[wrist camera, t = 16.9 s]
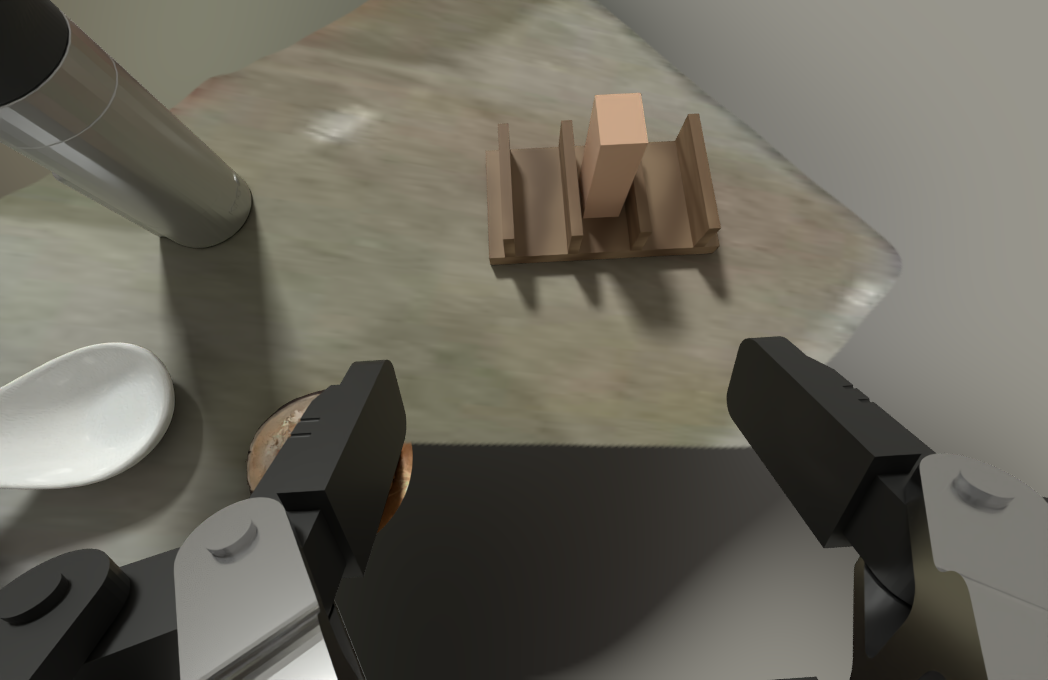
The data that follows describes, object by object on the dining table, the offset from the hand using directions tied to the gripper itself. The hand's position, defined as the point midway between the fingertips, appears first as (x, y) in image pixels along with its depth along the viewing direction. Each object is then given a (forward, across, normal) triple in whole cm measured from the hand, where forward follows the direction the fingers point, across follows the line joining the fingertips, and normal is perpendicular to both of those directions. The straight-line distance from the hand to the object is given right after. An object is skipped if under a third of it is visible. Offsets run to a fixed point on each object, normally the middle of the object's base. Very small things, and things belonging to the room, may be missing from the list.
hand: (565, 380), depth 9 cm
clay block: (+34, -8, +3) cm, 35 cm away
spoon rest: (+21, +42, +19) cm, 51 cm away
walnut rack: (+35, -8, +4) cm, 36 cm away
